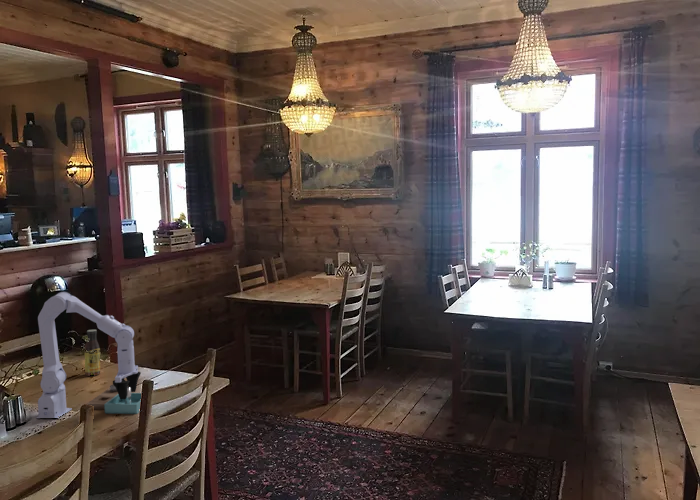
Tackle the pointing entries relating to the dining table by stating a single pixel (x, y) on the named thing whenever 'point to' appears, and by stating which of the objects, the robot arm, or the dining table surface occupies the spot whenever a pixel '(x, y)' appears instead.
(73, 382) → the dining table surface
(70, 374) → the dining table surface
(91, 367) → the sauce bottle
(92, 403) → the tensioner bracket
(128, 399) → the lock pin
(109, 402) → the tray
